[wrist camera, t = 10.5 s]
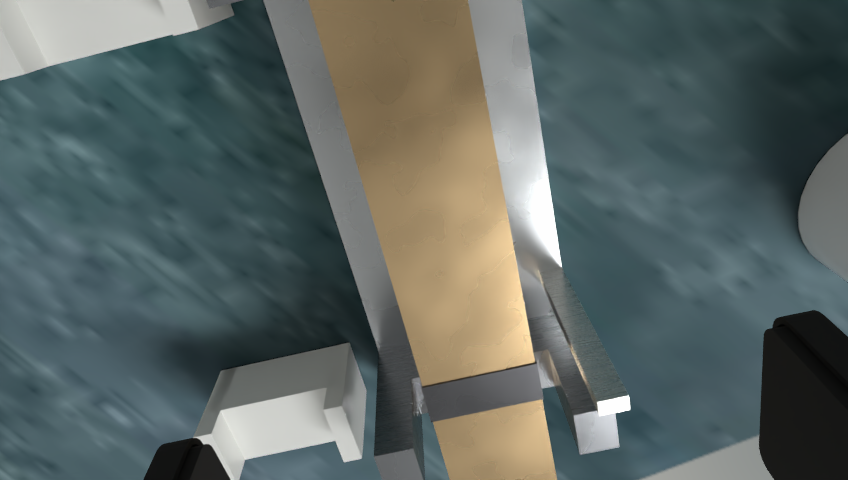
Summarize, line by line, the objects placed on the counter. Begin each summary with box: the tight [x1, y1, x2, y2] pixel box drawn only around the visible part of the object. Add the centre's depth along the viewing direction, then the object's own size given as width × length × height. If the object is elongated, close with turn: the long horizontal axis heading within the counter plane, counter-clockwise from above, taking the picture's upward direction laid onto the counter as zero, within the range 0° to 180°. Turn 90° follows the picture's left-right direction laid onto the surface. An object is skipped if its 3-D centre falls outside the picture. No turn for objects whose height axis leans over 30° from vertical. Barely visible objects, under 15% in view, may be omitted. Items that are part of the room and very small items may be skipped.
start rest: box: [0, 0, 366, 480], centre depth 23 cm, size 21×6×4 cm, turn 13°
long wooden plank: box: [308, 0, 557, 480], centre depth 20 cm, size 23×4×4 cm, turn 13°
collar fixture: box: [206, 0, 630, 480], centre depth 21 cm, size 22×9×9 cm, turn 13°
